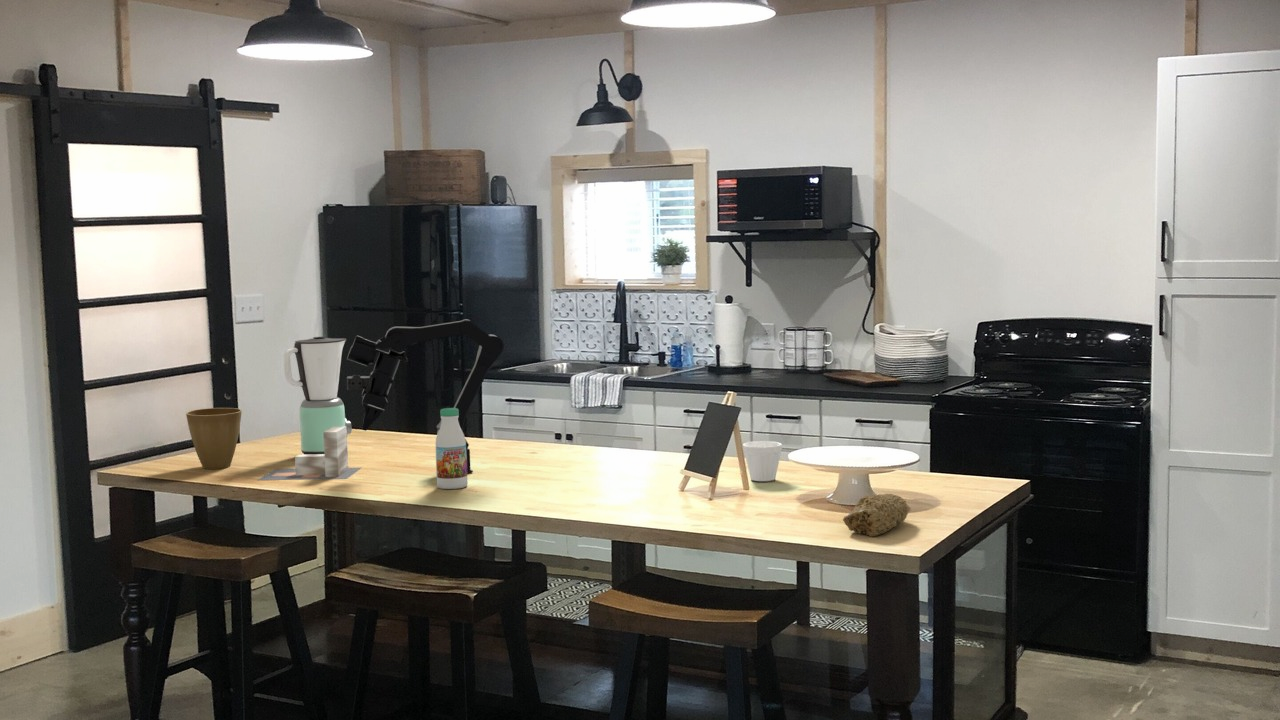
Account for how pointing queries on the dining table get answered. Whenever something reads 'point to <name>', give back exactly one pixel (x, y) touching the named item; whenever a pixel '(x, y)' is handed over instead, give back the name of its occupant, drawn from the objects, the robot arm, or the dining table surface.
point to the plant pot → (214, 435)
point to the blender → (318, 389)
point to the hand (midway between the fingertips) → (363, 427)
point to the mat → (291, 475)
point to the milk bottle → (451, 452)
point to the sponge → (876, 514)
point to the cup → (762, 459)
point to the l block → (326, 456)
